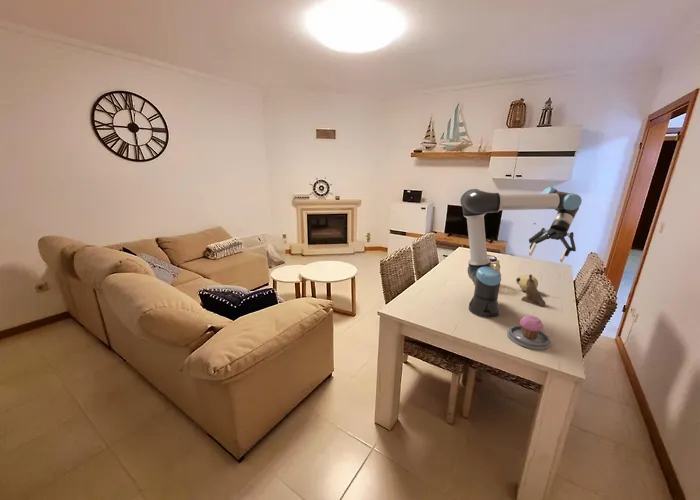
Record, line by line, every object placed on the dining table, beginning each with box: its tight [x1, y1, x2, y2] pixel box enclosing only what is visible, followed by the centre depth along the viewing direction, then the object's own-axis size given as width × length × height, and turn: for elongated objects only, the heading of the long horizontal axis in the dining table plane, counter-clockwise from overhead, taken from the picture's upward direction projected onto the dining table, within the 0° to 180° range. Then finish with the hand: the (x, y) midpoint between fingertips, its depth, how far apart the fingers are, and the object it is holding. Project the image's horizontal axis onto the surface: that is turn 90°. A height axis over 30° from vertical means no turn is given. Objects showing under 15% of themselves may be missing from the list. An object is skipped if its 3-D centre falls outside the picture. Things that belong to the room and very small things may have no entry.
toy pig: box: [515, 274, 539, 292], centre depth 184 cm, size 10×12×11 cm
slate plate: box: [506, 324, 552, 351], centre depth 133 cm, size 17×17×2 cm
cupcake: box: [519, 315, 544, 339], centre depth 131 cm, size 9×9×10 cm
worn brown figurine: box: [520, 274, 546, 308], centre depth 168 cm, size 12×6×18 cm, turn 36°
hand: (544, 257), depth 144 cm, fingers open, 13 cm apart
